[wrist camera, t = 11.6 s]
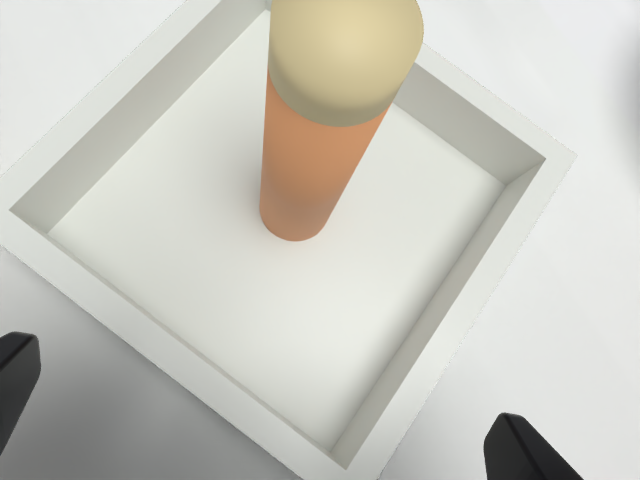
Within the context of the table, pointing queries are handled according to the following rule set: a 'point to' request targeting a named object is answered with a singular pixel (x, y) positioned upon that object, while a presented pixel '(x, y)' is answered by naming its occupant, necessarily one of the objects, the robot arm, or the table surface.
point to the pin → (327, 100)
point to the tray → (273, 252)
